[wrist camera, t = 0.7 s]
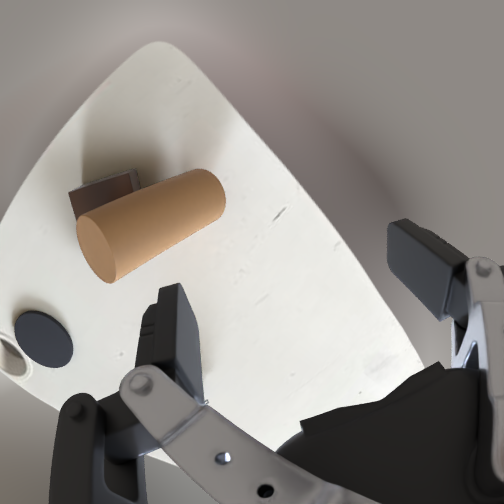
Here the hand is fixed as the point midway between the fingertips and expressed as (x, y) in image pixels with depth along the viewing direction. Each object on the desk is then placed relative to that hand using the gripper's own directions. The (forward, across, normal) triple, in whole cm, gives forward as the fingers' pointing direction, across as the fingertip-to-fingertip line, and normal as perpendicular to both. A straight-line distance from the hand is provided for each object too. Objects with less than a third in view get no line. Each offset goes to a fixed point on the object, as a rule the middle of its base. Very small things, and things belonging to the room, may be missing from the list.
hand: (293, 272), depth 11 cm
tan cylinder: (+20, +8, +2) cm, 21 cm away
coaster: (+17, +29, +12) cm, 36 cm away
